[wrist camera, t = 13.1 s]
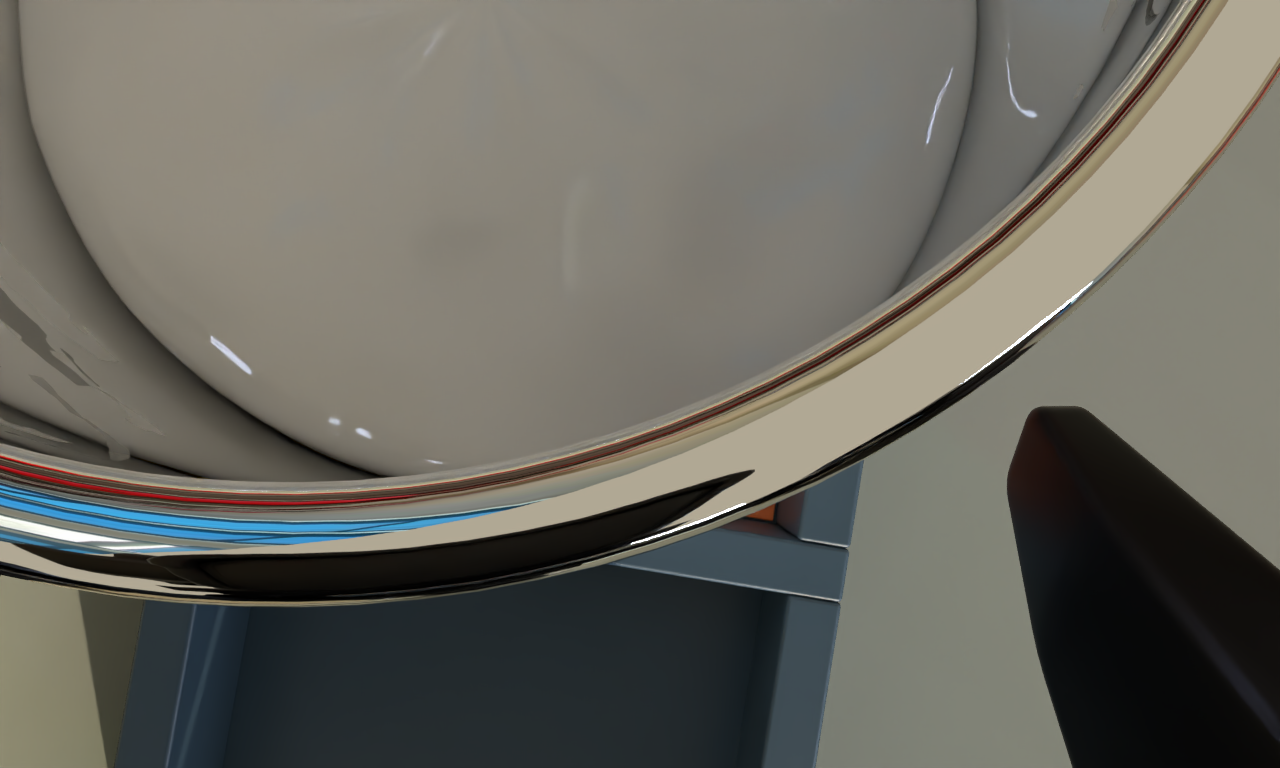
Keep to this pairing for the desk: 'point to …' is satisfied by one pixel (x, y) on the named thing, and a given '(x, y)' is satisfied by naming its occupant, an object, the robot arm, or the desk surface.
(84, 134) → the beer glass
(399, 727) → the divided tray
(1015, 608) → the desk surface
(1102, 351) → the desk surface
